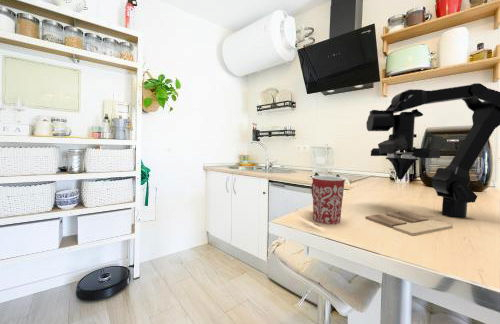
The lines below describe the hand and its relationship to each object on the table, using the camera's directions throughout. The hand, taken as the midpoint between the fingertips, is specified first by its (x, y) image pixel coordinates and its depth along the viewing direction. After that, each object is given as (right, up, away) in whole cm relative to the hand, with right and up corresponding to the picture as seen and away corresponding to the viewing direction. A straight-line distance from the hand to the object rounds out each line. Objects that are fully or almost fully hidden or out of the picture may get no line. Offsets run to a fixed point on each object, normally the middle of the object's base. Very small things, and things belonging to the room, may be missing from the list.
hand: (400, 179), depth 71 cm
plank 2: (-2, -11, -6) cm, 13 cm away
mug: (-27, -12, -6) cm, 31 cm away
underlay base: (-6, -13, -10) cm, 17 cm away
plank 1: (-11, -11, -9) cm, 18 cm away
